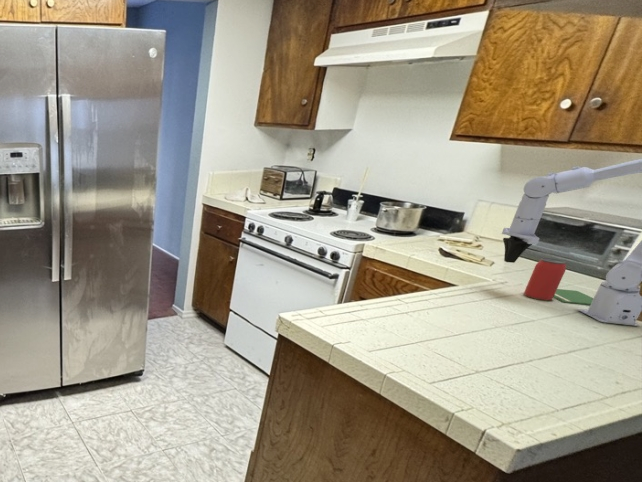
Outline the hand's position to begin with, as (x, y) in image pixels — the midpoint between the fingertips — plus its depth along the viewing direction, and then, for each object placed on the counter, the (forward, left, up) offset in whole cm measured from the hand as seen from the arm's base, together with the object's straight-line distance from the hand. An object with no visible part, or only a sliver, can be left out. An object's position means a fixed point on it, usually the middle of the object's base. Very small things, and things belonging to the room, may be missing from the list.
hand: (509, 261), depth 145 cm
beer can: (0, -11, -11) cm, 15 cm away
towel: (+4, -21, -10) cm, 24 cm away
